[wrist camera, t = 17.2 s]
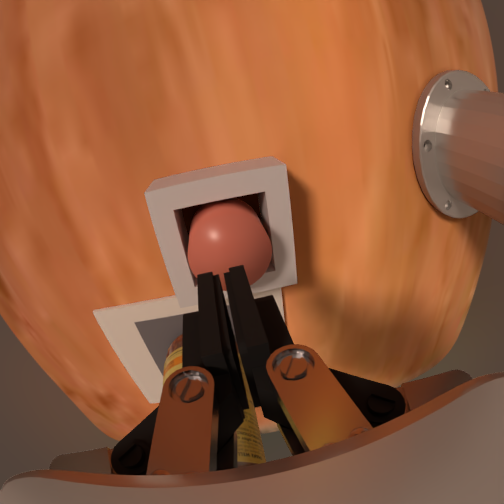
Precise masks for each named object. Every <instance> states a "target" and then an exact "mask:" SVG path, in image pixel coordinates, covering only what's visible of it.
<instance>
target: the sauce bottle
mask: <svg viewBox="0 0 504 504" xmlns="http://www.w3.org/2000/svg"><path fill="white" fill-rule="evenodd" d="M235 342H236V341H235ZM236 347H237V351H238V356H239V361H240V366H241V371H242V376H243V380H244V385H245V390H246V394H247V399H248V404H249V409H246V410H244V414H245V419H243V420H244V422H243V423H242V424H241V425H240V427H239V428H238V429H237V430H236V431H237V464H238V468H239V467H245V466H251V465H256V464H261V463H265V462H266V459H265V455H264V450H263V445H262V441H261V436H260V431H259V427H258V422H257V417H256V412H255V407H254V404H253V400H252V397H251V393H250V390H249V386H248V383H247V379H246V376H245V372H244V368H243V365H242V361H241V358H240V354H239V350H238V345H237V343H236ZM181 368H182V335H180V336H178V337H177V338H176V339H175V340H174V341H173V342H172V344H171V345H170V347H169V348H168V353H167V356H166V361H165V363H164V373H163V385H164V383H165V380H166V379H167V378H168V377H169V376H170V375H171V374H172V373H173V372H175V371H176V370H178V369H181Z"/></svg>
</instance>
